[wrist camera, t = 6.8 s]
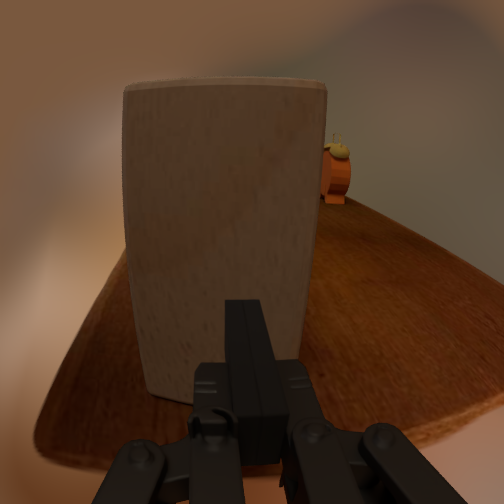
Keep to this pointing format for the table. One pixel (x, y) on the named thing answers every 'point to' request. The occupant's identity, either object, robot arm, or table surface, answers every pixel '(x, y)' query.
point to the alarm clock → (335, 173)
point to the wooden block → (218, 214)
